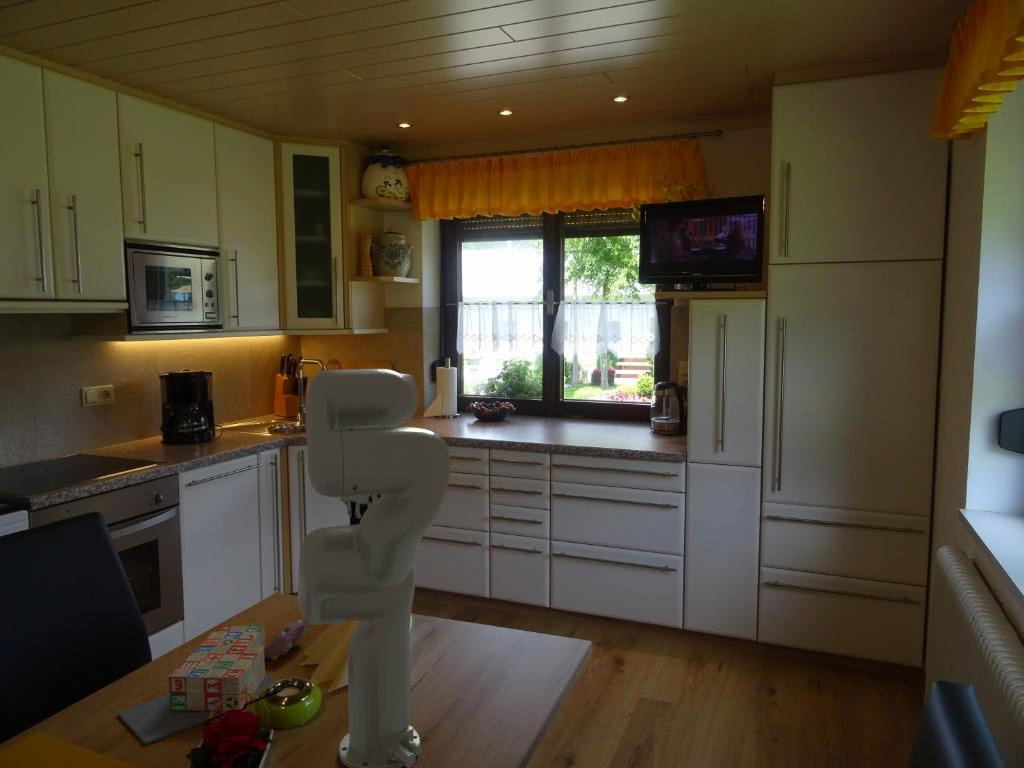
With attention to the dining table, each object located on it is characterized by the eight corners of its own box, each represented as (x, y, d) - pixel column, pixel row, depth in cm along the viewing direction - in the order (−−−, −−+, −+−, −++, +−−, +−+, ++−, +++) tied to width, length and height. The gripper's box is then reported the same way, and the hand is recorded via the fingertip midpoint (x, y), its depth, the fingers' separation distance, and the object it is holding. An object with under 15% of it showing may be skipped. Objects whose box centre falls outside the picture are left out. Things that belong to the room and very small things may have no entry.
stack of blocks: (218, 624, 145) (280, 624, 145) (219, 654, 146) (281, 655, 146) (168, 677, 124) (240, 677, 124) (169, 712, 124) (241, 712, 124)
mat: (283, 689, 133) (283, 686, 133) (146, 745, 116) (145, 742, 116) (250, 666, 142) (250, 663, 142) (118, 715, 124) (117, 712, 124)
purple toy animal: (276, 669, 144) (290, 641, 142) (258, 656, 145) (271, 628, 143) (303, 647, 153) (316, 620, 152) (286, 635, 154) (298, 609, 153)
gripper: (399, 442, 132) (400, 541, 133) (352, 433, 142) (353, 524, 144) (365, 448, 126) (366, 550, 128) (318, 437, 136) (320, 532, 138)
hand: (359, 536), depth 136 cm, fingers closed
